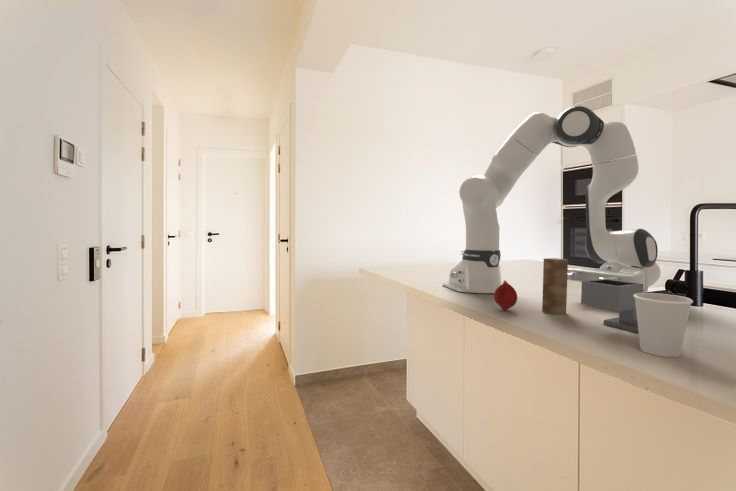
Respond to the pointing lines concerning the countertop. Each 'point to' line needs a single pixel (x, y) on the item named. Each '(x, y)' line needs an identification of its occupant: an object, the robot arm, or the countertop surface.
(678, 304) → the dixie cup
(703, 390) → the countertop surface
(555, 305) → the rail post
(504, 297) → the onion
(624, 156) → the robot arm
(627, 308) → the box
